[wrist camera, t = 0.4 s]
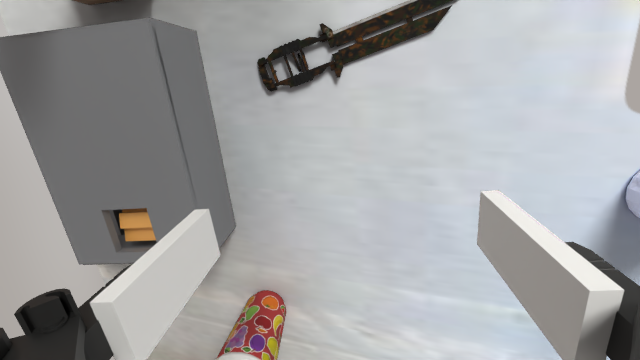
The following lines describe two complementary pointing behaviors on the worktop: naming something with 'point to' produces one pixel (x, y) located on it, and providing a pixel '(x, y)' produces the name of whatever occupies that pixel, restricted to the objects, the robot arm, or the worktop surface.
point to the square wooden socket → (95, 1)
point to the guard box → (119, 130)
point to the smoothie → (257, 329)
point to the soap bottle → (634, 195)
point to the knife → (417, 4)
